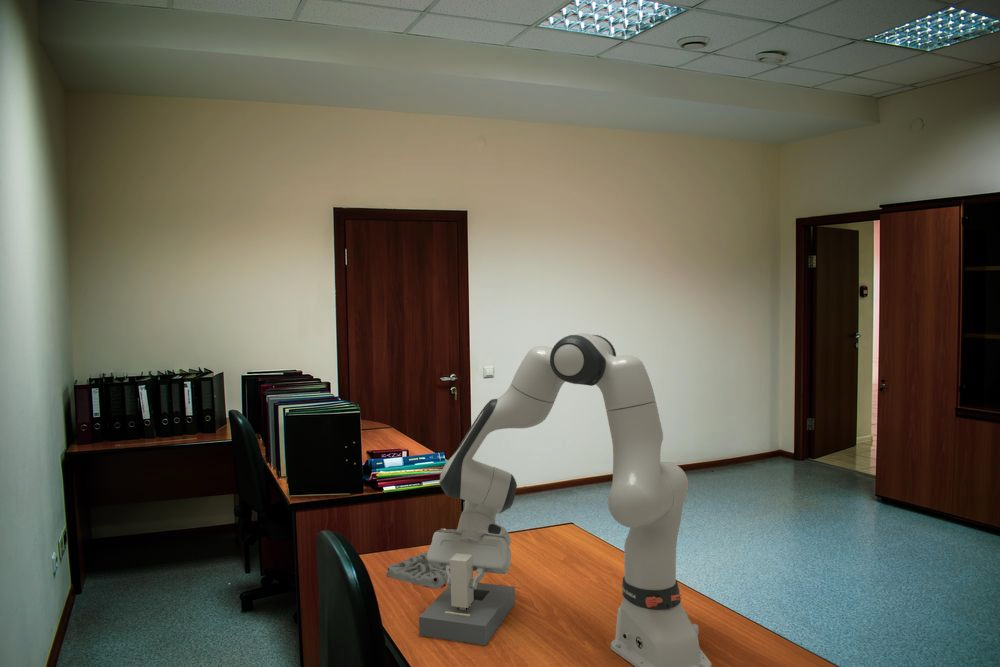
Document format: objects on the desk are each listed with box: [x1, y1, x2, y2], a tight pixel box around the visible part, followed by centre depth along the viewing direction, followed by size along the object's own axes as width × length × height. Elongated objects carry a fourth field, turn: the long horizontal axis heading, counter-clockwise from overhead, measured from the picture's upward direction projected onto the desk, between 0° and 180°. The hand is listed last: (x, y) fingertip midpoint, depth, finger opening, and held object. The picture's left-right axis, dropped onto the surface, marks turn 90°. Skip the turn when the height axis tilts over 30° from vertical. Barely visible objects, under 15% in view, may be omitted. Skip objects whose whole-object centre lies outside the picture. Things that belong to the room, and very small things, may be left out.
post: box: [450, 553, 474, 610], centre depth 165 cm, size 4×4×16 cm
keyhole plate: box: [418, 582, 516, 647], centre depth 169 cm, size 22×16×5 cm
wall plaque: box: [385, 550, 448, 589], centre depth 202 cm, size 24×19×4 cm
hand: (461, 586), depth 164 cm, fingers closed on post, 4 cm apart
